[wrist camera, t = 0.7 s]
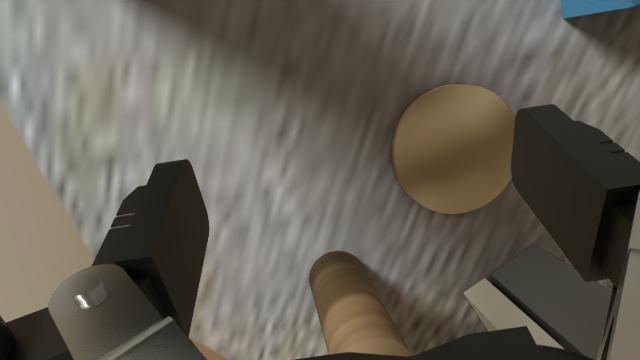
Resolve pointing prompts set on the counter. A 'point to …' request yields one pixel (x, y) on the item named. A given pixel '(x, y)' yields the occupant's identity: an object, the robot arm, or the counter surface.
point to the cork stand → (454, 148)
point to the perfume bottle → (593, 6)
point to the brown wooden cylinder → (352, 308)
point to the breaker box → (543, 302)
